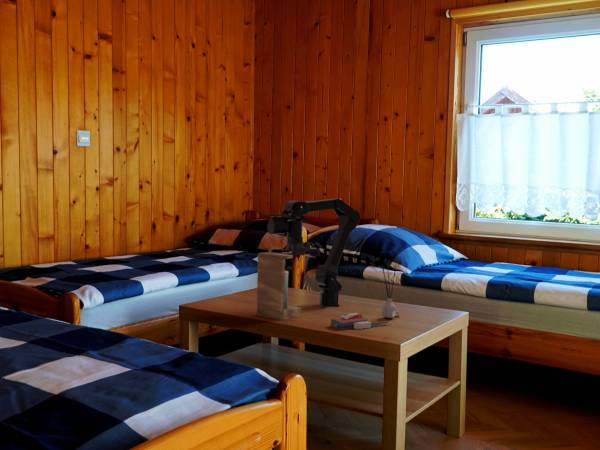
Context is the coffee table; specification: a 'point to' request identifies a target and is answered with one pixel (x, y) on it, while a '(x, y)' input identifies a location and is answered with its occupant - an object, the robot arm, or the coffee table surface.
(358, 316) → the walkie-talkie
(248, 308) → the coffee table surface
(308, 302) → the coffee table surface
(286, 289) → the tea tin
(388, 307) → the reed diffuser
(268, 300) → the nook
